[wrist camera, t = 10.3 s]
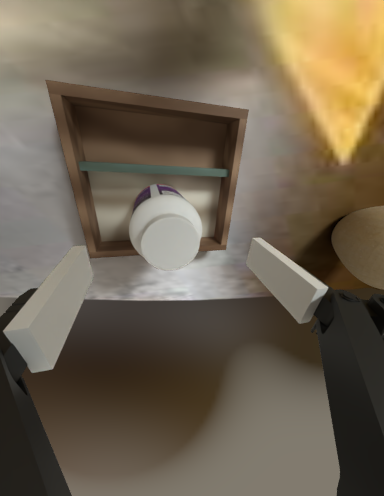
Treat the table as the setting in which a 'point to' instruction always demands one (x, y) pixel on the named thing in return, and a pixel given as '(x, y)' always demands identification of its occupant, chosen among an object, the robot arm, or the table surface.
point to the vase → (362, 244)
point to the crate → (146, 159)
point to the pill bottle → (165, 227)
